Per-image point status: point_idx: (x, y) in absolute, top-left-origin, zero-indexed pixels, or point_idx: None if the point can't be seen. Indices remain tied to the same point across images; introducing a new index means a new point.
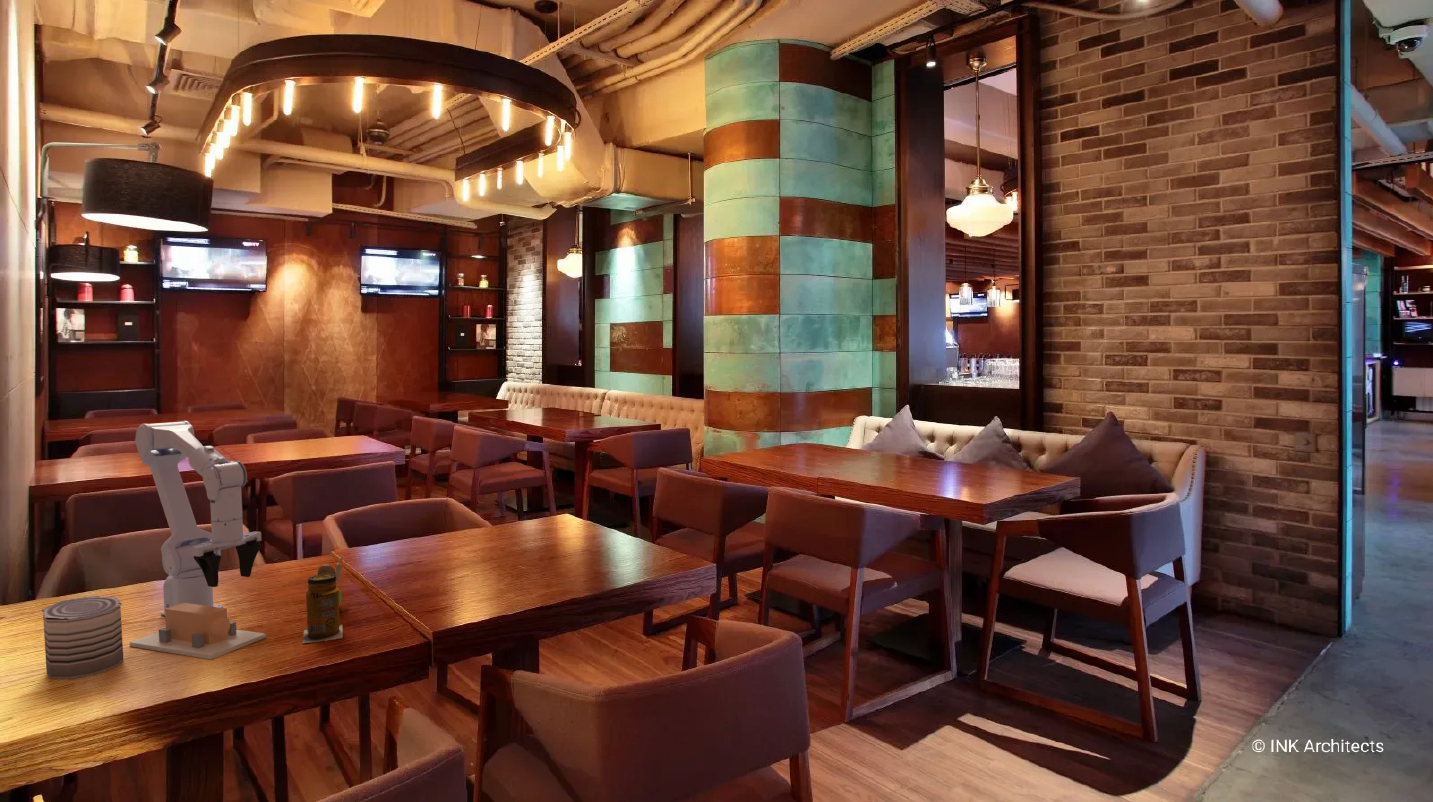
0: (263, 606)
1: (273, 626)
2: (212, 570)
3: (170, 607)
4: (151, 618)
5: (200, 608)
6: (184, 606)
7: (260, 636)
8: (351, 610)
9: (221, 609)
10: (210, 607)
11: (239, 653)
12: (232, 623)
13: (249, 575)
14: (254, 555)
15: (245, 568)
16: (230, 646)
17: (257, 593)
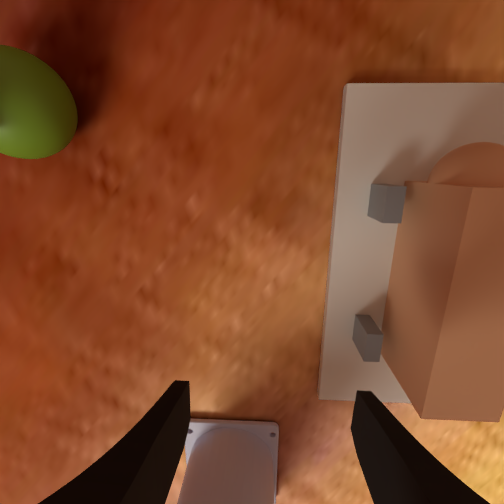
0: (129, 339)
1: (249, 159)
2: (453, 475)
3: (480, 416)
4: (295, 499)
5: (482, 303)
6: (464, 381)
7: (366, 84)
8: (19, 12)
9: (487, 201)
10: (464, 275)
11: (493, 36)
12: (401, 186)
13: (178, 383)
14: (100, 475)
15: (175, 430)
16: (480, 93)
17: (66, 433)
